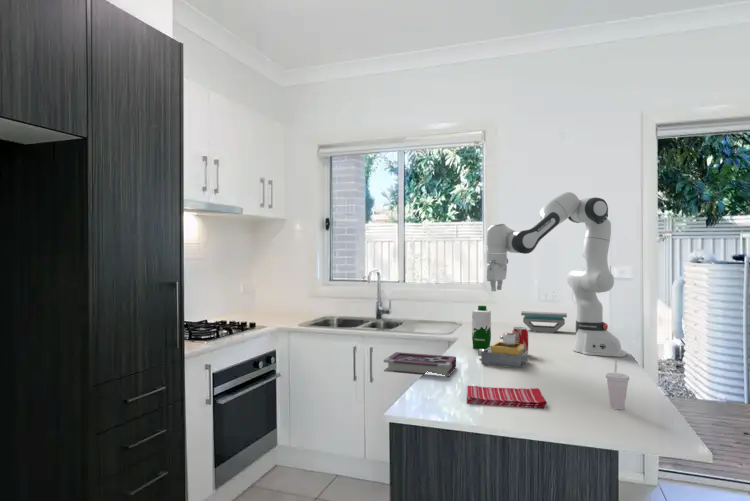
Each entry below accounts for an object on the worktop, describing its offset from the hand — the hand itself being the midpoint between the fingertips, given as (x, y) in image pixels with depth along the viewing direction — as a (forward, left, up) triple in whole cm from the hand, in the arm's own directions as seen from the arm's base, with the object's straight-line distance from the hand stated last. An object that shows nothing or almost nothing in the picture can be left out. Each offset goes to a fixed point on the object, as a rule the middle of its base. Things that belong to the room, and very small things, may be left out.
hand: (496, 290), depth 219 cm
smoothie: (-51, +56, -29) cm, 81 cm away
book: (+19, +42, -30) cm, 55 cm away
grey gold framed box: (-5, +13, -29) cm, 32 cm away
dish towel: (-19, +63, -30) cm, 72 cm away
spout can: (-9, +13, -24) cm, 29 cm away
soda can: (-9, -7, -29) cm, 31 cm away
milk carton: (+11, -14, -29) cm, 34 cm away
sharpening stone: (-7, -80, -29) cm, 86 cm away
